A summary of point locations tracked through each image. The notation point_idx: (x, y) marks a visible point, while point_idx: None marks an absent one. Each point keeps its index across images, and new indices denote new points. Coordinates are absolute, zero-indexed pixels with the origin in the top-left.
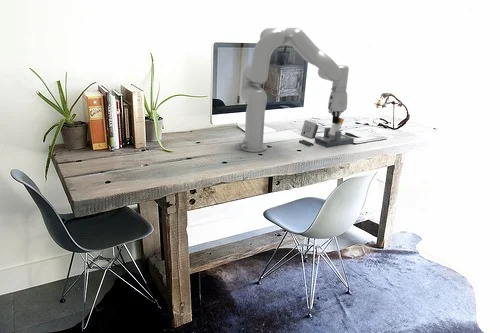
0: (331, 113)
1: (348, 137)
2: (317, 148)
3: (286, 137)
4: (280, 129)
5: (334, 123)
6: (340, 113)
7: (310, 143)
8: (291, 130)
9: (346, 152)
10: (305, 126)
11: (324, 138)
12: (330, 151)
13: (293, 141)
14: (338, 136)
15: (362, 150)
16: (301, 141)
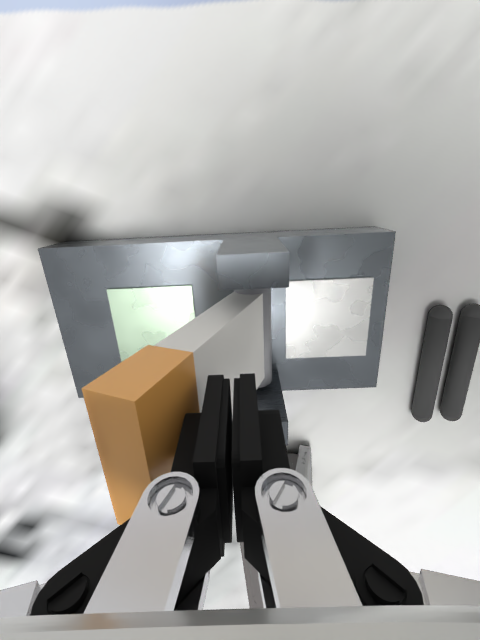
0: (457, 577)
1: (75, 293)
2: (454, 244)
3: (430, 509)
4: None
5: None
6: (127, 538)
7: (448, 334)
8: None
9: (312, 24)
10: None
11: (325, 338)
12: (427, 124)
13: (463, 437)
14: (257, 244)
15: (106, 11)
16: (466, 394)
